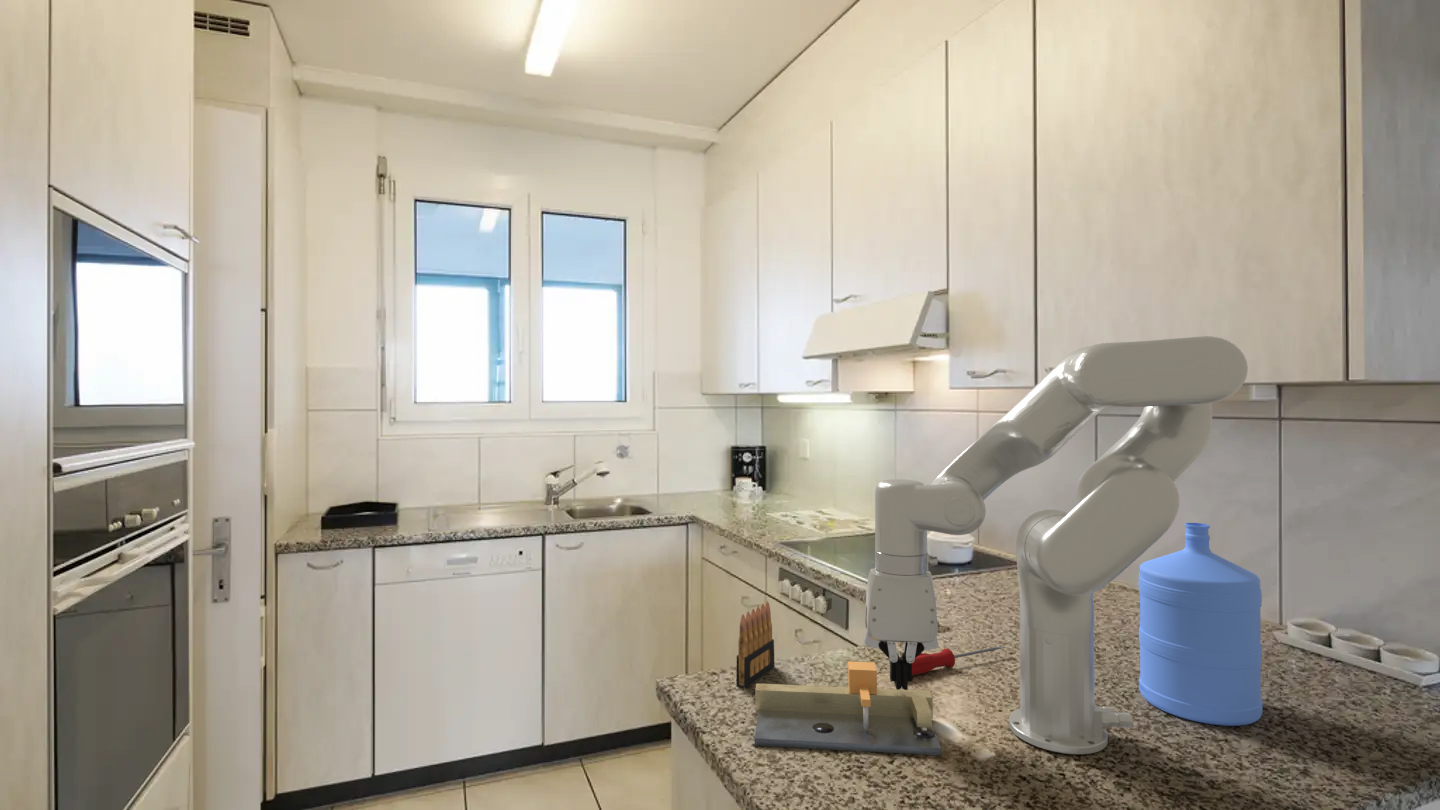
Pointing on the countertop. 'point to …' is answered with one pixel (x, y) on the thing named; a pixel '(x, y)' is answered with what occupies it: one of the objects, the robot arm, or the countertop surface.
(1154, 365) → the robot arm
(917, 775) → the countertop surface
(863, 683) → the sliding head
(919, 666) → the screwdriver
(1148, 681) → the water jug
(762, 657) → the ammunition clip
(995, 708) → the countertop surface
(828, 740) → the drilled steel plate with beam
